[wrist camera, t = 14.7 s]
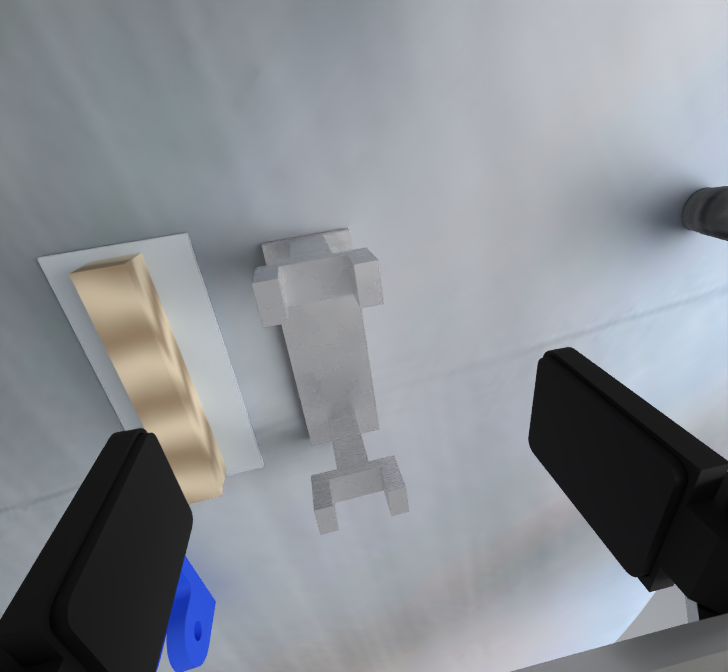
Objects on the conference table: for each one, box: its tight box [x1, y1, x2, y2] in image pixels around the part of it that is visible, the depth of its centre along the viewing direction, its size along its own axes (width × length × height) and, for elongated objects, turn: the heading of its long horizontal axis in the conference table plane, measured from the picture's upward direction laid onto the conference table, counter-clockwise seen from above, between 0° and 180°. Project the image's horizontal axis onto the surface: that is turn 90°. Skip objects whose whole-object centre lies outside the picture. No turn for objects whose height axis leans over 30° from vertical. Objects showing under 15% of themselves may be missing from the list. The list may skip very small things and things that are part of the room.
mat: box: [37, 232, 264, 476], centre depth 39 cm, size 27×12×1 cm, turn 8°
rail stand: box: [252, 228, 409, 535], centre depth 35 cm, size 23×8×13 cm, turn 8°
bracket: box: [156, 556, 216, 672], centre depth 45 cm, size 18×8×9 cm, turn 12°
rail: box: [69, 253, 227, 504], centre depth 36 cm, size 25×4×4 cm, turn 8°
